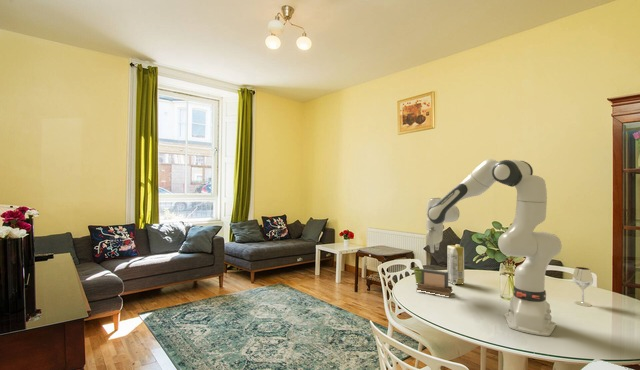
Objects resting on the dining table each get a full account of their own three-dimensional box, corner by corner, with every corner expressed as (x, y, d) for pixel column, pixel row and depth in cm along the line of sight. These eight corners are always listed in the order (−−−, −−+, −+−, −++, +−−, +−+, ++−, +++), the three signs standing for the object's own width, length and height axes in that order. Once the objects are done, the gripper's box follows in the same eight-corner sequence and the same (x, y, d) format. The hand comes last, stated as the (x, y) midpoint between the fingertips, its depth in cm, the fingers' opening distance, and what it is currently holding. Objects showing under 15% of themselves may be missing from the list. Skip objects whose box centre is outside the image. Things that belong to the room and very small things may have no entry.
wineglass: (597, 307, 159) (597, 270, 159) (578, 306, 161) (578, 269, 161) (587, 301, 167) (586, 266, 167) (569, 300, 169) (569, 266, 169)
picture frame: (447, 291, 176) (447, 273, 176) (421, 287, 184) (421, 269, 184) (448, 290, 178) (448, 272, 179) (422, 286, 186) (422, 268, 186)
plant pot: (411, 282, 200) (411, 268, 200) (425, 282, 201) (425, 268, 201) (417, 287, 191) (417, 272, 191) (432, 286, 192) (432, 272, 192)
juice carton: (466, 285, 196) (466, 245, 196) (454, 285, 194) (454, 245, 195) (456, 280, 205) (456, 242, 205) (445, 281, 203) (445, 243, 204)
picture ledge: (448, 297, 172) (448, 290, 172) (416, 291, 182) (416, 284, 182) (452, 292, 181) (452, 285, 181) (421, 287, 190) (421, 280, 190)
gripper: (435, 228, 172) (435, 255, 171) (444, 225, 189) (444, 249, 188) (423, 228, 175) (423, 253, 175) (433, 224, 192) (433, 248, 192)
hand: (434, 251), depth 182 cm, fingers open, 8 cm apart
